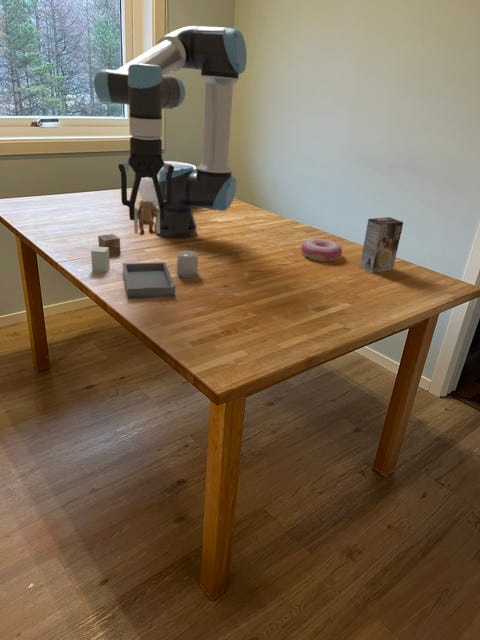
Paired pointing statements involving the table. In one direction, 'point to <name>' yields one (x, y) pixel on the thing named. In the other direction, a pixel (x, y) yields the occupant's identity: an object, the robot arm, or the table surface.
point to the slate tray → (148, 280)
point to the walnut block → (110, 243)
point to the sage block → (100, 259)
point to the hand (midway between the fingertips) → (147, 231)
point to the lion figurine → (147, 216)
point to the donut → (321, 250)
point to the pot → (148, 188)
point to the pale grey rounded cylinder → (187, 264)
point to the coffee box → (380, 244)
